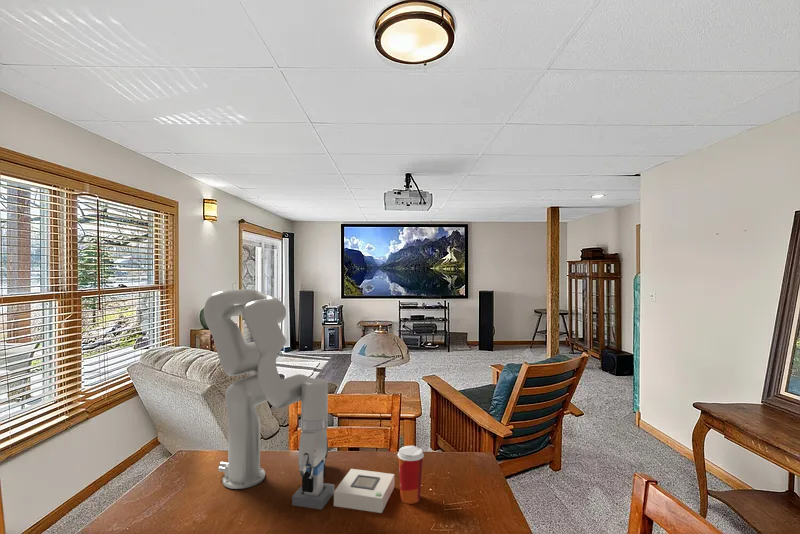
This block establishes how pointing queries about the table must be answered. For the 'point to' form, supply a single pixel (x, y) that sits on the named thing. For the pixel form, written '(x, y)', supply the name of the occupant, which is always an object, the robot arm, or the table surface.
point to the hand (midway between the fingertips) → (313, 483)
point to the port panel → (364, 490)
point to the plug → (316, 479)
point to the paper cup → (410, 473)
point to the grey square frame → (313, 497)
